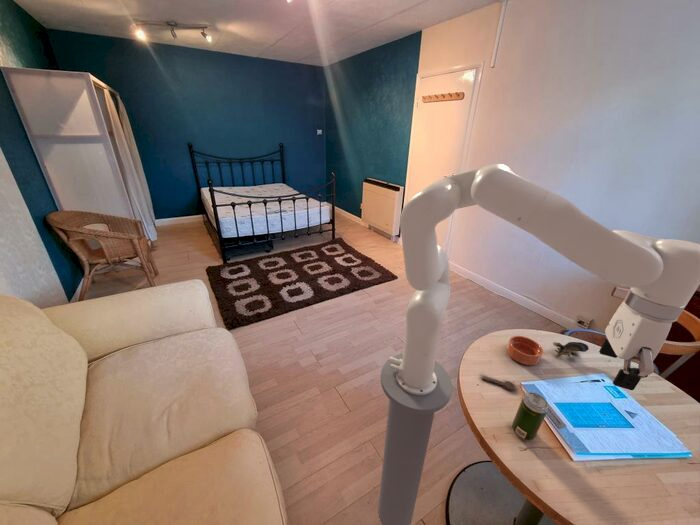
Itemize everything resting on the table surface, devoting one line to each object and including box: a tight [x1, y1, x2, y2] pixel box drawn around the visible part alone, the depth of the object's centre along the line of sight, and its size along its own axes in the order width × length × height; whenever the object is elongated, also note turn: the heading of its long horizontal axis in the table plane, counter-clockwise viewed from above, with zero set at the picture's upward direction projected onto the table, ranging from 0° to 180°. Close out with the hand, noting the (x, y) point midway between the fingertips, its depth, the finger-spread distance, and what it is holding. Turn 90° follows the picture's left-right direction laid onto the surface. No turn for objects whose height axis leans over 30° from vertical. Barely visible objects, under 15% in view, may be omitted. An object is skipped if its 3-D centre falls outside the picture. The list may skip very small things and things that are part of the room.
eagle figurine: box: [552, 341, 590, 361], centre depth 97 cm, size 8×7×9 cm
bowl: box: [506, 335, 544, 366], centre depth 97 cm, size 10×10×4 cm
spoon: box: [482, 375, 516, 392], centre depth 87 cm, size 9×3×1 cm, turn 64°
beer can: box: [511, 391, 549, 442], centre depth 71 cm, size 5×5×12 cm
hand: (614, 370), depth 61 cm, fingers open, 9 cm apart
